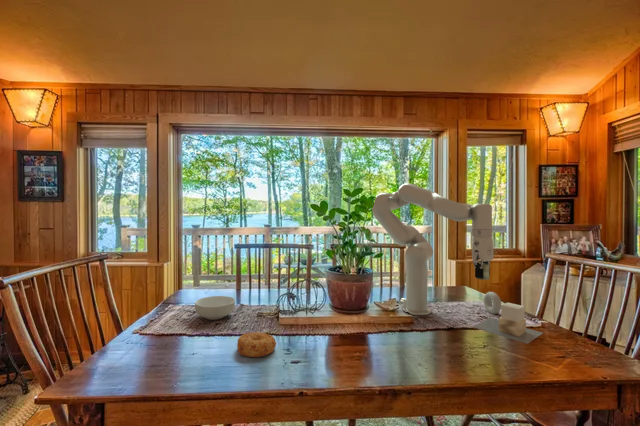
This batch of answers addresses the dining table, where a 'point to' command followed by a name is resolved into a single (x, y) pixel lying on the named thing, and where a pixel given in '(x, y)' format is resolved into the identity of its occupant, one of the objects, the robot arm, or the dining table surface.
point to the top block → (512, 312)
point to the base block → (512, 326)
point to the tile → (493, 327)
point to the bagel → (255, 344)
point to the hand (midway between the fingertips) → (482, 276)
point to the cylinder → (485, 272)
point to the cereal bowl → (214, 307)
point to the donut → (496, 301)
